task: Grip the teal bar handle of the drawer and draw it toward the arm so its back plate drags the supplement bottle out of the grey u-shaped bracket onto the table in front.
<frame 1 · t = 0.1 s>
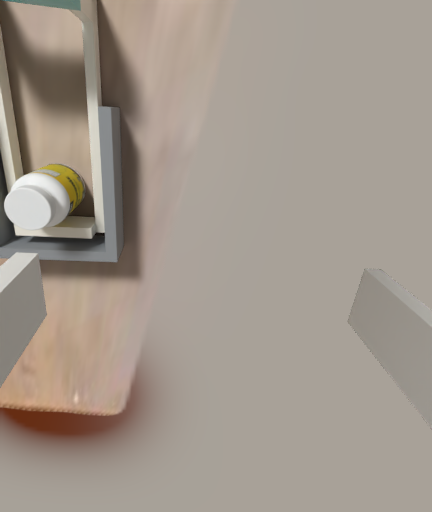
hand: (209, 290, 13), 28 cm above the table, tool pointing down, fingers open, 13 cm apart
grey u-shaped bracket: (62, 186, 38), on the table
drawer: (37, 122, 30), point 5 cm above the table, slide at 0.0 cm
supplement bottle: (63, 185, 38), resting in grey u-shaped bracket
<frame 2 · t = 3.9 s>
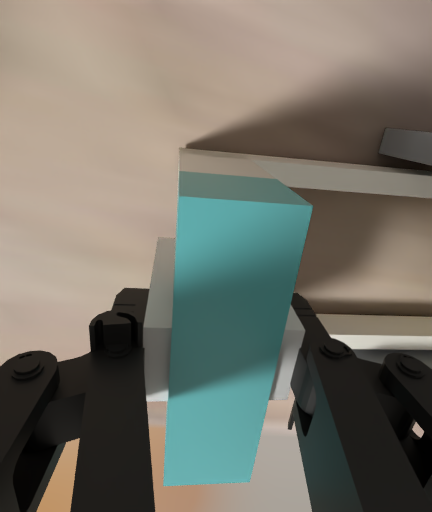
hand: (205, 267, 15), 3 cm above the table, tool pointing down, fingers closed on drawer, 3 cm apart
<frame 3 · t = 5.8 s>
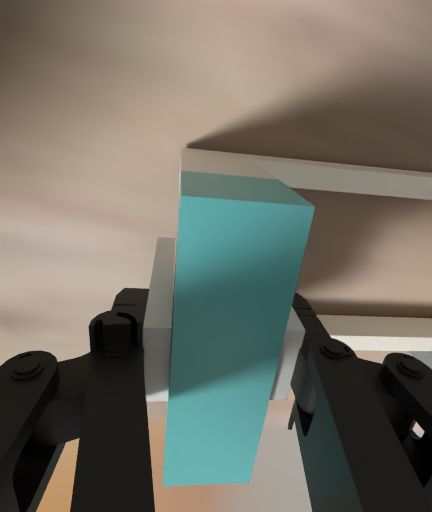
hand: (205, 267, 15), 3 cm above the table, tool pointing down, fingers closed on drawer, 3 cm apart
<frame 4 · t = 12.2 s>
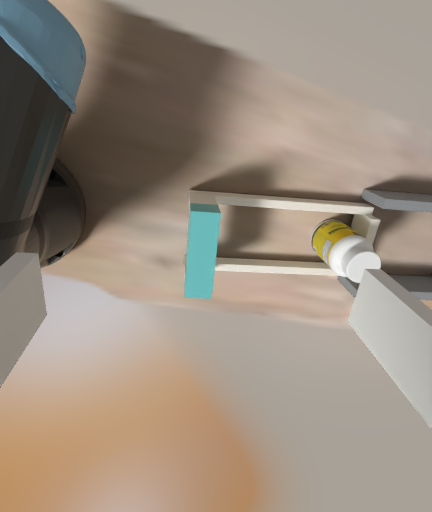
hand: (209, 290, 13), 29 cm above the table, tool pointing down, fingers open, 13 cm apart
grey u-shaped bracket: (408, 240, 46), on the table
drawer: (283, 246, 39), point 5 cm above the table, slide at 13.0 cm
supplement bottle: (327, 236, 45), resting in drawer
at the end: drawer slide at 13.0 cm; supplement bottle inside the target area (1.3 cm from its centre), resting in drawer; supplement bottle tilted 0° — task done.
